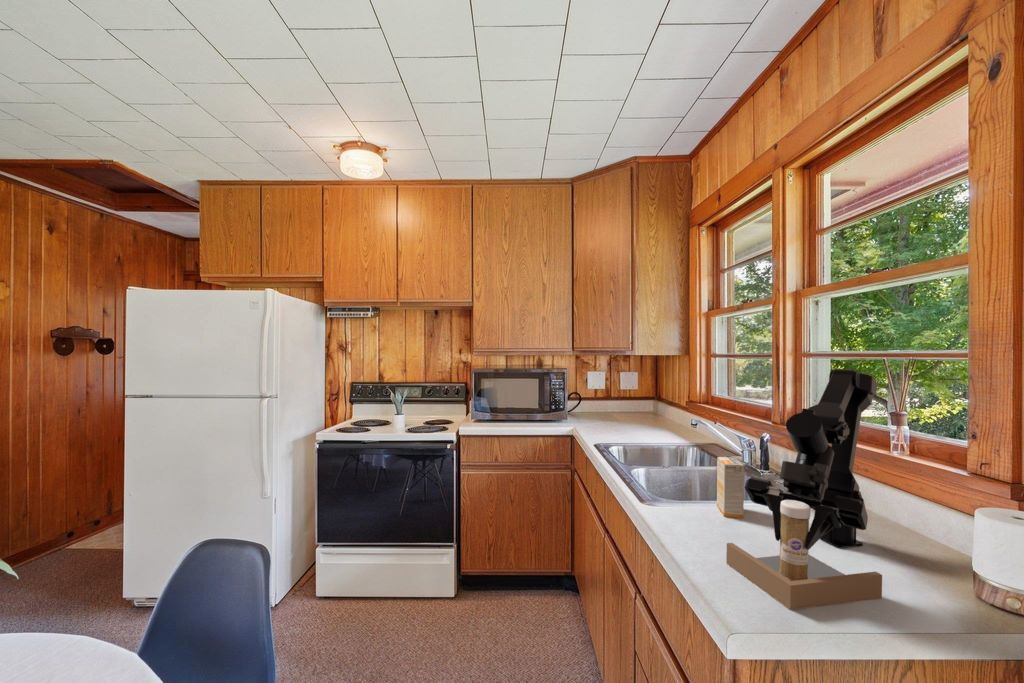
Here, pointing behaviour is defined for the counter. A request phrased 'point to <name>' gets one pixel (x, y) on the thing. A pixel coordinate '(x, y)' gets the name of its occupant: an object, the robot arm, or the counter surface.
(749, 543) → the counter surface
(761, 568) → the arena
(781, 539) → the sprinkles bottle
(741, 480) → the supplement box
